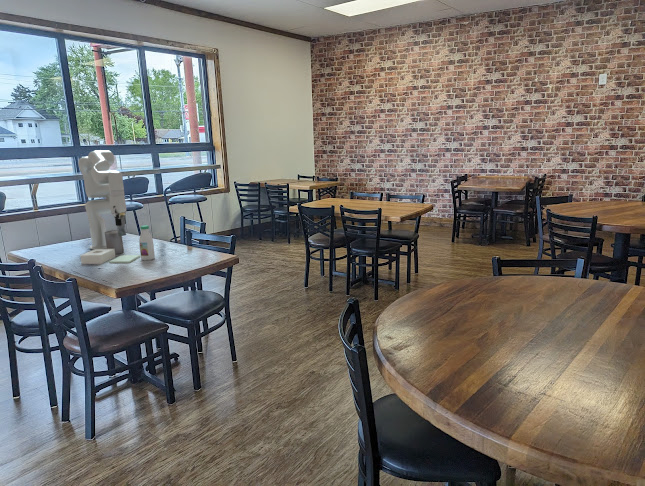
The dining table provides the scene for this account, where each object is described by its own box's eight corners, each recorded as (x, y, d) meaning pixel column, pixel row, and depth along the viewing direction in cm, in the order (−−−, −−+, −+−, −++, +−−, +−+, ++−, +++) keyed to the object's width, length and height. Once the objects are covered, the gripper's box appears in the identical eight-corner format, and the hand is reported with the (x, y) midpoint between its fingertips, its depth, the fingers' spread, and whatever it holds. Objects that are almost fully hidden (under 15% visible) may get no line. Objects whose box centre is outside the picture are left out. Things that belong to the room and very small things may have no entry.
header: (96, 256, 278) (95, 248, 277) (115, 256, 277) (114, 248, 276) (81, 263, 262) (80, 255, 261) (101, 263, 262) (100, 255, 260)
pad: (121, 257, 276) (120, 255, 276) (140, 256, 275) (140, 255, 275) (109, 263, 262) (109, 261, 262) (129, 263, 262) (129, 261, 261)
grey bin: (113, 250, 293) (110, 227, 289) (127, 251, 291) (124, 228, 287) (103, 254, 284) (100, 231, 280) (117, 254, 282) (114, 231, 278)
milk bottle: (151, 256, 275) (148, 224, 271) (157, 258, 270) (153, 225, 266) (139, 259, 270) (135, 226, 266) (144, 261, 265) (140, 227, 260)
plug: (119, 234, 268) (117, 212, 266) (129, 234, 268) (126, 212, 265) (115, 236, 263) (112, 213, 260) (124, 236, 262) (122, 213, 260)
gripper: (118, 191, 268) (121, 222, 272) (103, 195, 252) (107, 227, 256) (130, 191, 268) (133, 222, 272) (116, 195, 252) (120, 227, 256)
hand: (121, 224), depth 264 cm, fingers closed on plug, 4 cm apart
